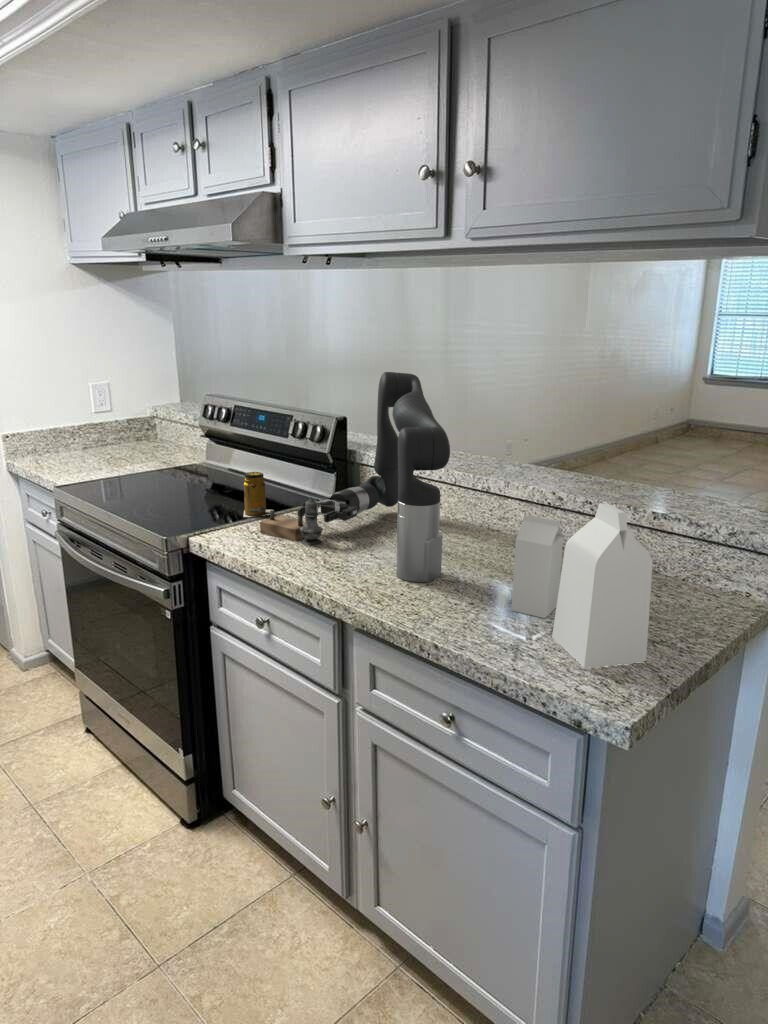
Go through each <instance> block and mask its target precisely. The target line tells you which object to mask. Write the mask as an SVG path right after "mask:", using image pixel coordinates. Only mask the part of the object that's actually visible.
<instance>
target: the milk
mask: <svg viewBox="0 0 768 1024" xmlns="http://www.w3.org/2000/svg"><path fill="white" fill-rule="evenodd" d="M635 537H636V534H635V533H634V532H633V531H632V530H631V528H629V527H628V521H627V516H626V512H625V511H623V510H621V509H619V508H617V507H615V506H613V505H611V504H609V503H607V502H605V503H599V504H598V506H597V510H596V513H595V516H594V517H593V518H592V519H590V521H589V522H587V523H586V524H585V525H584V526H582V527H581V528H580V529H579V530H578V531H577V532H575V533H574V534H573V535H572V536H571V537H570V538H569V539H568V540H567V542H566V544H565V546H564V552H563V557H562V558H563V559H562V564H561V571H560V582H559V592H558V599H557V606H556V608H555V615H554V621H553V629H552V634H551V639H552V638H553V639H554V640H555V641H556V642H557V643H558V644H559V645H561V646H562V647H563V648H564V649H565V651H567V652H568V653H569V654H570V655H571V656H572V657H573V658H575V659H576V661H578V662H579V663H580V664H581V665H582V666H583V667H584V668H588V667H597V666H606V665H618V664H628V663H636V662H643V661H646V662H647V654H648V653H647V651H648V637H649V636H648V635H649V621H650V609H651V606H650V605H651V590H652V578H653V559H652V556H651V555H650V552H649V551H648V550H647V549H646V548H645V547H644V546H643V545H642V544H641V543H640V542H639V540H637V539H636V538H635ZM553 639H552V640H553ZM554 640H553V641H554ZM555 641H554V642H555ZM556 642H555V643H556ZM557 643H556V644H557ZM558 644H557V645H558ZM559 645H558V646H559ZM565 651H564V652H565Z"/></svg>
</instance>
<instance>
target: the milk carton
mask: <svg viewBox="0 0 768 1024" xmlns="http://www.w3.org/2000/svg"><path fill="white" fill-rule="evenodd" d="M560 523H561V522H560V520H557V519H551V518H544V517H539V516H534V515H529V514H528V515H527V514H524V515H523V521H522V524H521V525H520V527H519V530H518V532H517V535H516V537H515V548H514V549H515V550H514V565H513V579H512V582H513V583H512V592H511V593H512V594H511V606H510V608H511V609H510V610H511V611H512V612H516V613H520V614H521V613H522V614H525V615H529V616H533V617H538V618H541V619H546V618H547V617H548V616H549V615H550V614H551V613H552V612H553V611H554V610H556V606H557V599H558V592H559V585H560V578H561V572H562V561H563V559H562V558H563V548H564V547H563V545H564V534H563V532H562V529H561V526H560Z"/></svg>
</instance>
